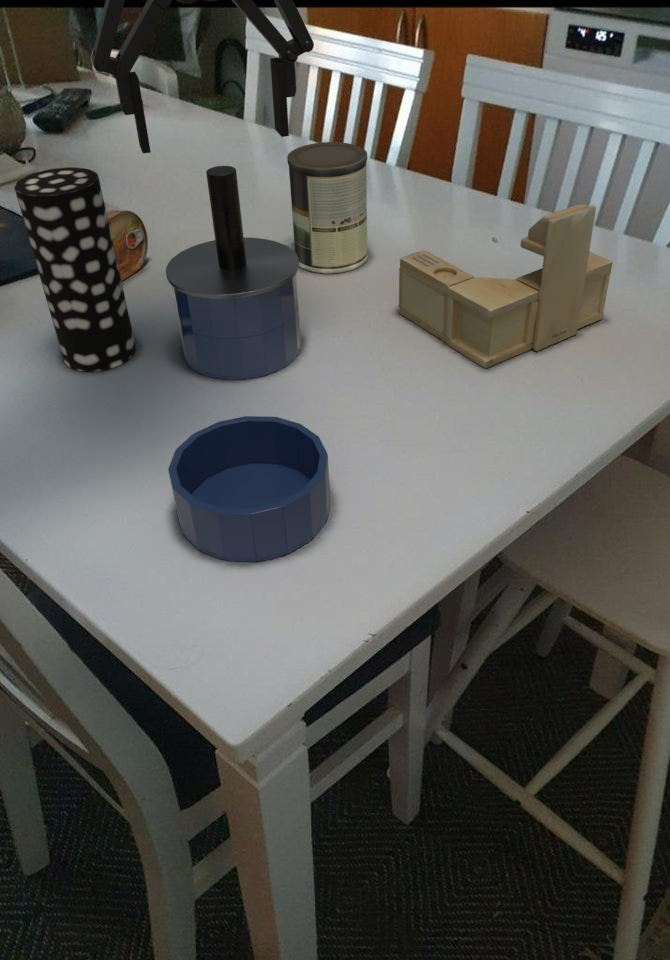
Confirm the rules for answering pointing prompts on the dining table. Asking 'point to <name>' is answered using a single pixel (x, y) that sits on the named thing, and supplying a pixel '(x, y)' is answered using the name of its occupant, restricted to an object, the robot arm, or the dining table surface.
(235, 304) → the pot
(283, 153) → the dining table surface
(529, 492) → the dining table surface
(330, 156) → the coffee can
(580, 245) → the toy kitchen set
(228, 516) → the pan
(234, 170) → the lid
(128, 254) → the tin
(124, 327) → the white-spotted black cylinder
